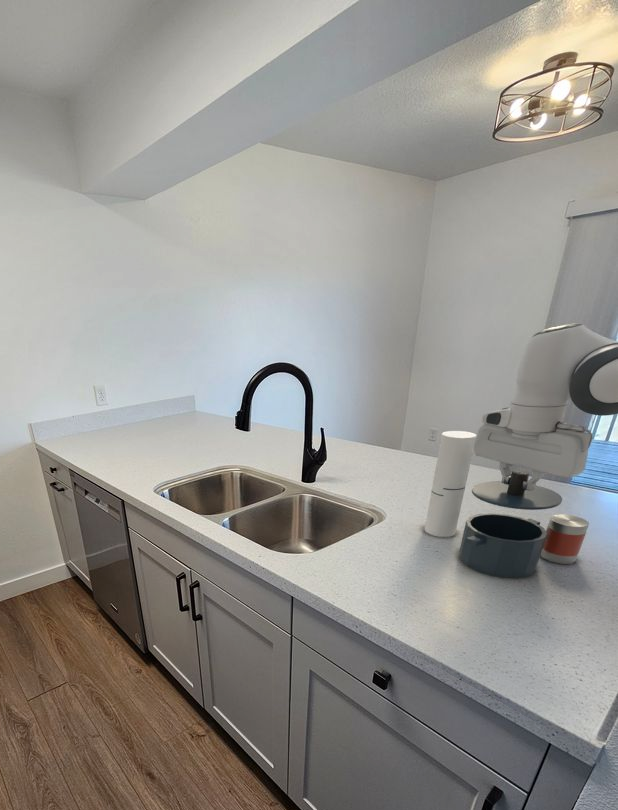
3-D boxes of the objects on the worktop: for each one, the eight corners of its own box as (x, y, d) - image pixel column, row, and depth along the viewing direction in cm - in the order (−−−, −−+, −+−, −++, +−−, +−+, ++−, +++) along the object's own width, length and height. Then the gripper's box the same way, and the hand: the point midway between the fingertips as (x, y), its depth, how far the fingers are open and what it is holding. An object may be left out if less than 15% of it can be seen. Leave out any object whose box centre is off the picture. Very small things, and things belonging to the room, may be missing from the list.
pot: (559, 564, 95) (571, 529, 91) (495, 588, 88) (505, 551, 84) (496, 538, 107) (504, 506, 103) (436, 557, 100) (442, 524, 96)
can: (582, 559, 96) (596, 522, 92) (563, 567, 94) (576, 529, 90) (551, 547, 101) (562, 511, 97) (532, 554, 99) (543, 518, 95)
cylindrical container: (453, 539, 108) (475, 439, 97) (422, 533, 111) (440, 436, 100) (456, 528, 113) (477, 432, 102) (426, 523, 117) (443, 429, 105)
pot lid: (578, 502, 87) (587, 475, 84) (526, 518, 81) (533, 490, 79) (504, 481, 100) (509, 457, 97) (454, 494, 94) (459, 469, 92)
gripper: (606, 424, 76) (582, 498, 82) (496, 409, 93) (483, 471, 99) (584, 430, 74) (560, 505, 80) (475, 413, 91) (463, 476, 97)
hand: (516, 486), depth 89 cm, fingers closed on pot lid, 3 cm apart
